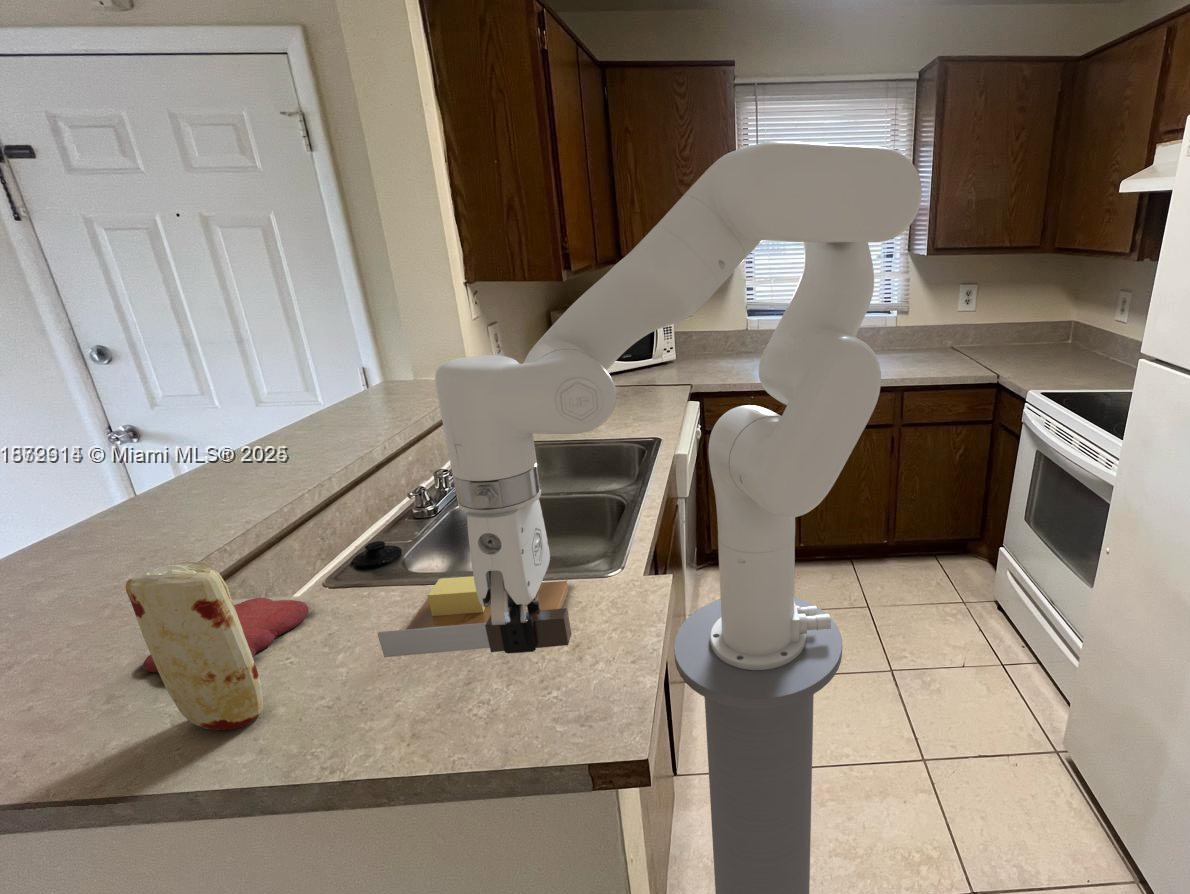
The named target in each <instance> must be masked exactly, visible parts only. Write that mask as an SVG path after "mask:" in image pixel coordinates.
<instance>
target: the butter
mask: <svg viewBox="0 0 1190 894" xmlns="http://www.w3.org/2000/svg"><path fill="white" fill-rule="evenodd" d="M427 599H428V600H429V604H430V609H431V613H432V616H441V615H455V614H468V613H482V612H484V610H485V608H486V607H484V606H482V605H481V603H480V602H479V599H478V596H477V592H476V587H475V582H474V577H473V575H472V576H457V577H444V578H443V577H442V578H439V579H437V582H435V584H434V585H433V587H432V588H431V590H430V591H429V592H428V594H427Z"/></svg>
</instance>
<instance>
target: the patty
mask: <svg viewBox="0 0 1190 894" xmlns="http://www.w3.org/2000/svg"><path fill="white" fill-rule="evenodd" d="M234 607H235V610H236V612H237V615H238V618H239V621H240V624H241V626H242V629H243V632H244V635H245V637H246V640H247V643H248V646H249V649H250V651H251V654H252V657H253V659H254V658H255V657H256V654H257V653H259V652H261V651H263V650H264V649H266V648H268V647H269V646H270V645H271V644H272V643H273V642H274V639H276V638H277V637H279V636H281V635H283V634H285V633H286V632H289V631H291V630H292V629H294V628H296V627H297V626H298V625H299V624H301V623H302V622H303V621H304V620H306V618H307V617H308V614H309V611H310V610H309V607H308V605H307V604H306V603H304V602H303V601H299V600H295V599H282V600H281V599H279V600H272V599H270V598H267V597H254V598H251V599H246V600H244V601H242V602H239V603H236V604H234ZM142 667H143V669H144V671H146V672H149V673H159V672H158V669H157V667H156V665H155V663H154V660H153V658H152V656H151V654H149V655H148V656H147V657H146V658H145V659H144V661H143V664H142Z"/></svg>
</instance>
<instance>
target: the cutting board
mask: <svg viewBox="0 0 1190 894" xmlns="http://www.w3.org/2000/svg"><path fill="white" fill-rule="evenodd" d="M569 589H570V588H569V580H561V581H560V580H559V581H546V582H543V581H542V583H541V585H540V587H539V589H538V598H537V600H534V601H533V602H536V601H539V608H540V610H551V609H563V608H564V605H565V600H566V598H567V596H568V593H569ZM490 615H491V604H490V605H489V606H488V607H486V608H485V610H484V612H482V613H468V614H455V615H441V616H432V613H431V609H430V604H429V600H428V598H427V599H426V600H425V602H423V605H422V606H421V607H420V608H419V610H418V611H417V613H416V614H415V616H414V617H413V618H412V620H411V621H410V623H409V624H408V625H407V626H406V628H405V629H404V630H407V629H419V628H430V627H442V626H453V625H465V624H476V623H487V621H488V619H489V617H490Z"/></svg>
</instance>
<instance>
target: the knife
mask: <svg viewBox="0 0 1190 894" xmlns="http://www.w3.org/2000/svg"><path fill="white" fill-rule="evenodd" d="M528 615H529V617H532V618H533V624H534V631H535V637H536V643H537V647H536V649H541V648H555V647H563V646H564V647H565V646H569V644H570V641H571V637H572V629H571V623H570V616H569V611H568V607H562V609H551V610H539V611H528ZM376 635H377V638H378V640H379V644H380V648H381V651H382V655H383V657H384V658H392V657H403V656H404V657H405V656H414V655H415V656H417V655H425V654H436V653H438V654H439V653H448V652H458V651H469V650H470V651H471V650H480V649H489V650H490V653H497V652H498V653H501V652H504V648H503V642H502V636H501V631H500V625H492V623H491V615H490V617H489V619H488V621H487V623H476V624H465V625H453V626H442V627H430V628H419V629H407V630H405V629H398V630H385V631H378V632H377V634H376Z"/></svg>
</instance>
